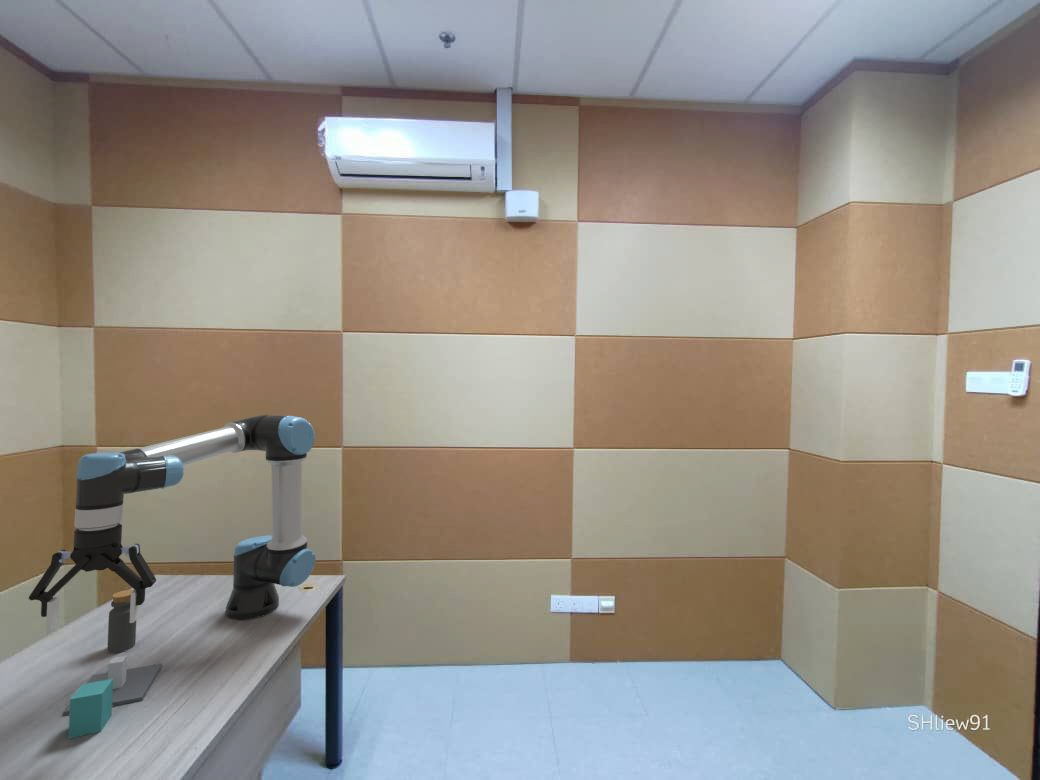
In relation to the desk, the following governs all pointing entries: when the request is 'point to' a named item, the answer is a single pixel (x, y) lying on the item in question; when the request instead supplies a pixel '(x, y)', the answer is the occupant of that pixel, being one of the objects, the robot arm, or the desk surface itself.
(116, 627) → the bottle
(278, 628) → the desk surface
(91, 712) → the teal rectangular block
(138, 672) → the stand
